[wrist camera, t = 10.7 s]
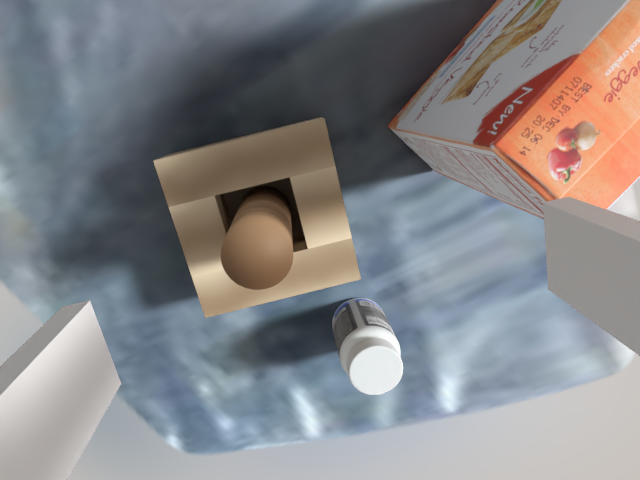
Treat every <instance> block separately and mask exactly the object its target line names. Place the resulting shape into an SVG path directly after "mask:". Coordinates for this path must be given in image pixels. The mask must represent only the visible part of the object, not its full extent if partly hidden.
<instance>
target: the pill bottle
mask: <svg viewBox="0 0 640 480" xmlns="http://www.w3.org/2000/svg"><path fill="white" fill-rule="evenodd" d="M332 328H333V333H334V337H335V341H336V346H337V350H338V354H339V358H340V362H341V365H342V367H343V369H344V371H345V372H346V373H347V374H348V375H349V378H350V381H351V382H352V384H353V385H354V387H355V388H356V389H358V390H359V391H361V392H362V393H365V394H369V395H379V394H383V393H386V392H388V391H390V390H391V389H393V388H394V387H395V386H396V385H397V384H398V382H399V381H400V379H401V377H402V373H403V363H402V360H401V358H400V346H399V342H398V340H397V338H396V336H395V334H394V332H393V330H392V328H391V326H390V324H389V322H388V320H387V318H386V316H385V314H384V312H383V311H382V309H381V308H380V306H379V305H378V304H377V303H375V302H374V301H372V300H370V299H367V298H354V299H350V300H348V301H346V302H344V303H342V304H341V305H340V306H339V307H338V308H337V310H336V311H335V313H334V316H333V319H332Z"/></svg>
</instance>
